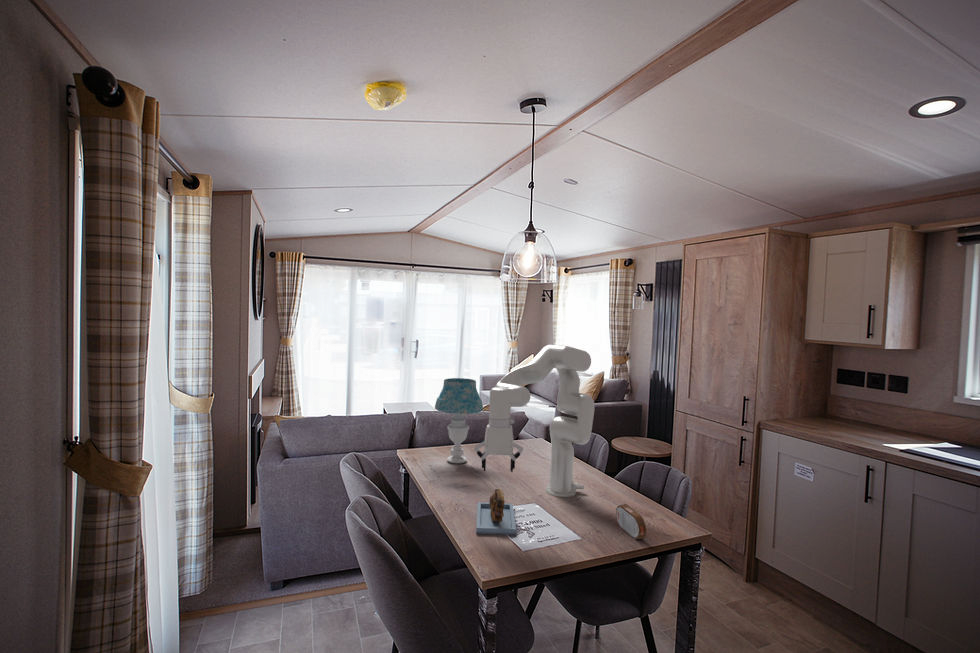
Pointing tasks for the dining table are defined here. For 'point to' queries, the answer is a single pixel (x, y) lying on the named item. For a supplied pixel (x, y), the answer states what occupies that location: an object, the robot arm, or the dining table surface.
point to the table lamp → (458, 411)
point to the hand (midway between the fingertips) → (498, 470)
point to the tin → (631, 521)
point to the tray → (494, 527)
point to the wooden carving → (497, 505)
